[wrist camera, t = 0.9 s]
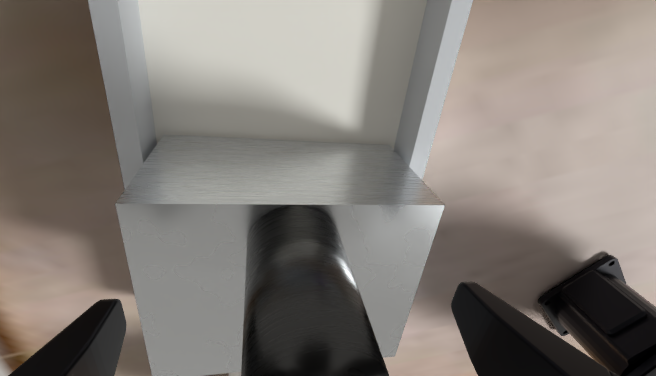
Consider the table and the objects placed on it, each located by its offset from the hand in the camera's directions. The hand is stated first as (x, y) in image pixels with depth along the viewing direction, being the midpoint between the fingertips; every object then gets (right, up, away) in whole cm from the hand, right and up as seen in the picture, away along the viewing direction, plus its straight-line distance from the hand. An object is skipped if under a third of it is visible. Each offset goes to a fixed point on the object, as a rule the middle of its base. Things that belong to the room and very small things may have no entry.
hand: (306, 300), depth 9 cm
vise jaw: (-2, +2, +8) cm, 8 cm away
